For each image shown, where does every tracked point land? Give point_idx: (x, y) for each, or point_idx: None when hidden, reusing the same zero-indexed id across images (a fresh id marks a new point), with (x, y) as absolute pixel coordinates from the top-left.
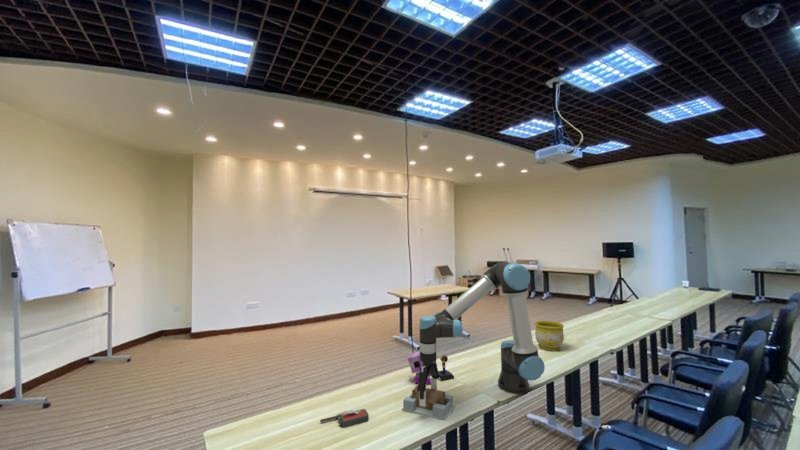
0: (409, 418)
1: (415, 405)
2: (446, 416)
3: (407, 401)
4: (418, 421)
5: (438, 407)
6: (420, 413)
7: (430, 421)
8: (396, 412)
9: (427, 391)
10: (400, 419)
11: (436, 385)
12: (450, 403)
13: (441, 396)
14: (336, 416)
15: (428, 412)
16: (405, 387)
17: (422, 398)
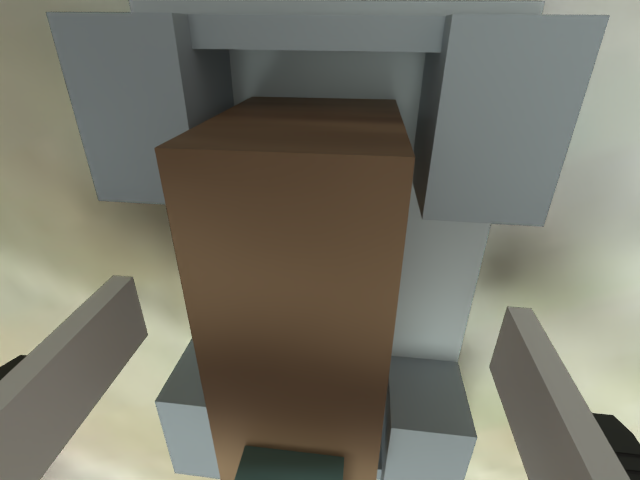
0: (570, 355)
1: (416, 383)
2: (475, 2)
3: (462, 474)
4: (616, 278)
5: (561, 132)
6: (470, 302)
7: (599, 169)
8: (491, 448)
9: (317, 415)
10: (600, 406)
11: (52, 351)
12: (229, 15)
13: (413, 160)
14: None
15: (441, 241)
16: (117, 471)
17: (633, 439)
